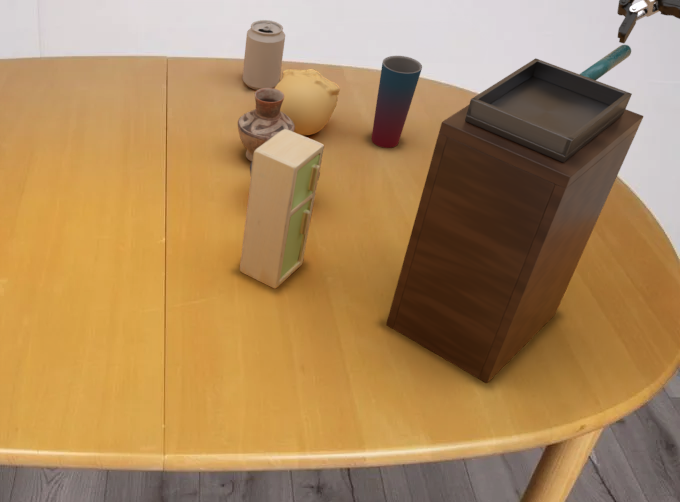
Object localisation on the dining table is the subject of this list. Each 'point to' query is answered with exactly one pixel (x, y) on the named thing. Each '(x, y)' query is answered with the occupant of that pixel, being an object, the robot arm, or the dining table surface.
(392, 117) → the cup
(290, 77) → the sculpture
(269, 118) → the pottery
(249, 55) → the can
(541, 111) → the grey square pan
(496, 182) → the wooden filing cabinet
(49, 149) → the dining table surface
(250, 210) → the toy refrigerator
